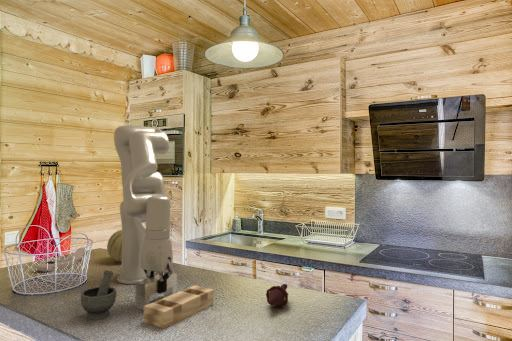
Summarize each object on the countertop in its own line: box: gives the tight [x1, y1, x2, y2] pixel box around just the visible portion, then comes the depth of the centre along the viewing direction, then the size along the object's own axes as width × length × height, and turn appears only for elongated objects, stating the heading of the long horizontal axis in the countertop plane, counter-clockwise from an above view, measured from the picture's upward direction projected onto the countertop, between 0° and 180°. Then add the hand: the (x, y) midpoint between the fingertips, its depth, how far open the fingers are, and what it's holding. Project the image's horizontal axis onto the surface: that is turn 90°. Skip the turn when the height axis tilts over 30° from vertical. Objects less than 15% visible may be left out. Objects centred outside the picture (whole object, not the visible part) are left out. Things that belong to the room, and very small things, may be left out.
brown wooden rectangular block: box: [143, 284, 215, 329], centre depth 112 cm, size 8×22×4 cm, turn 150°
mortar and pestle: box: [80, 270, 117, 321], centre depth 109 cm, size 11×9×12 cm
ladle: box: [31, 247, 86, 273], centre depth 161 cm, size 6×6×25 cm
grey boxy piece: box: [135, 272, 178, 311], centre depth 120 cm, size 4×14×8 cm, turn 150°
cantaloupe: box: [106, 229, 122, 263], centre depth 170 cm, size 15×15×15 cm
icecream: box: [265, 283, 289, 310], centre depth 117 cm, size 7×7×15 cm
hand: (157, 290), depth 120 cm, fingers closed on grey boxy piece, 4 cm apart
